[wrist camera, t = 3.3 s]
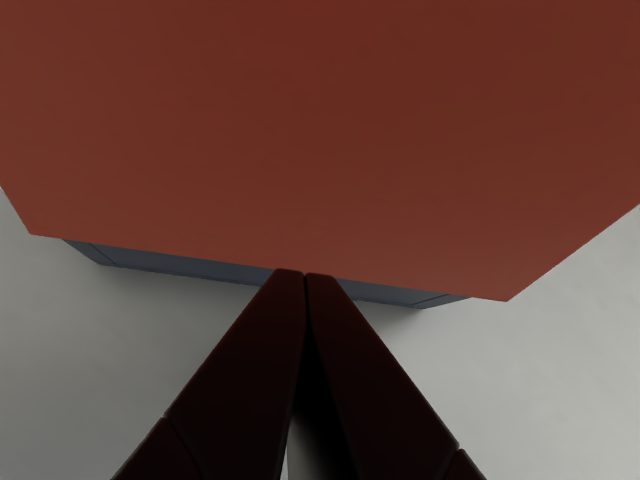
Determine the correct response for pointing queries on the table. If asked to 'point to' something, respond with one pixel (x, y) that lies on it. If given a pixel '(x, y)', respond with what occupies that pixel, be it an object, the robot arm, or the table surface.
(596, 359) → the table surface
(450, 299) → the box
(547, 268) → the lid
